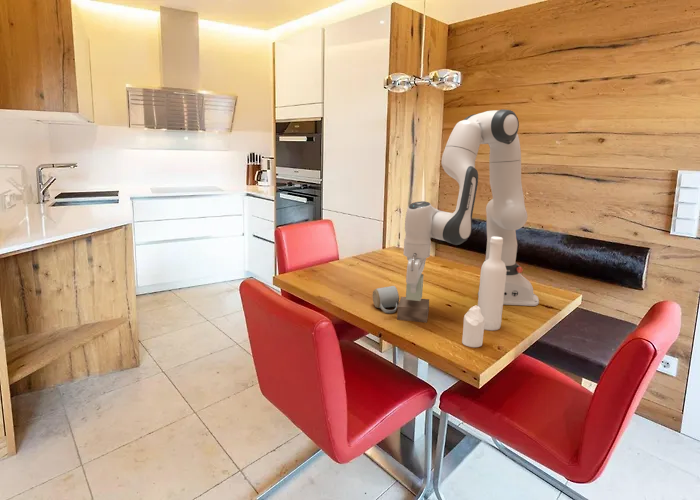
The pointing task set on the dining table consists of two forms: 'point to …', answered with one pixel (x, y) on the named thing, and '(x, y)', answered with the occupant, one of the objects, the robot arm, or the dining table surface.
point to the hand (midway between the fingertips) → (414, 289)
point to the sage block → (418, 294)
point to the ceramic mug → (386, 298)
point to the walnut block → (413, 310)
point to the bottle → (492, 286)
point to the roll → (473, 327)
